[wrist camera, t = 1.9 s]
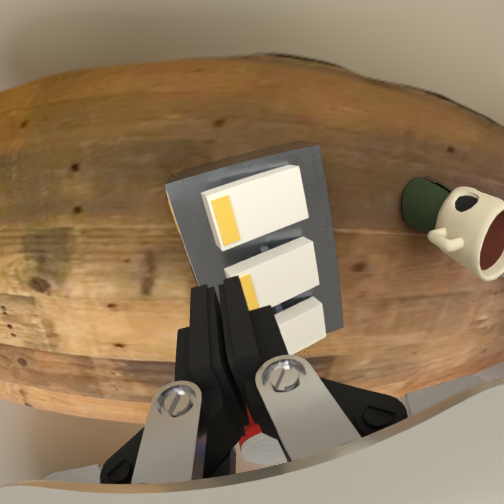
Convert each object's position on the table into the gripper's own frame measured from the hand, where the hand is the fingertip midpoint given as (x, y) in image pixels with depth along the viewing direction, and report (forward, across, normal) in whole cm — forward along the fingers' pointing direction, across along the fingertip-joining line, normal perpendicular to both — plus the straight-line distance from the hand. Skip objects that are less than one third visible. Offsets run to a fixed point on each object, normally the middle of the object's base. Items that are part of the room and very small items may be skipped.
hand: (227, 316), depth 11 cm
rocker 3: (+12, -3, +12) cm, 18 cm away
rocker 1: (+12, -3, 0) cm, 13 cm away
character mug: (+19, -22, +6) cm, 30 cm away
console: (+19, -3, +6) cm, 20 cm away
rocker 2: (+12, -3, +6) cm, 14 cm away
